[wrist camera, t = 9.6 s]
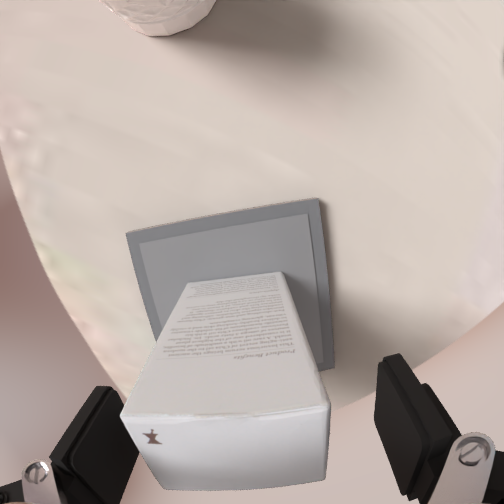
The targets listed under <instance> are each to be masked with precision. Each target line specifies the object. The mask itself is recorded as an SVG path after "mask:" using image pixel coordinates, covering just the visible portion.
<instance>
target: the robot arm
mask: <svg viewBox="0 0 504 504" xmlns="http://www.w3.org/2000/svg"><path fill="white" fill-rule="evenodd" d="M123 407H124V404H123V403H122V400H121V398H120V396H119V395H118V393H117V391H115V390H114V389H113V388H112V387H110V386H96V387H95V389H94V390H93V392H92V393H91V394H90V396H89V397H88V399H87V400H86V402H85V403H84V405H83V406H82V408H81V409H80V410H79V412H78V414H77V415H76V416H75V418H74V419H73V421H72V422H71V424H70V426H69V427H68V429H67V430H66V432H65V433H64V435H63V436H62V438H61V439H60V441H59V442H58V444H57V445H56V447H55V448H54V450H53V451H52V453H51V455H50V456H49V458H50V459H51V460H52V463H51V464H50V463H49V462H48V461H46V460H43V459H37V460H33V461H31V462H29V463H28V464H27V465H26V466H25V467H24V469H23V471H22V476H21V478H22V480H19V481H16V482H13V483H10V484H8V485H4V486H1V487H0V504H120V501H121V499H122V495H123V493H124V490H125V488H126V485H127V482H128V480H129V478H130V475H131V473H132V470H133V467H134V465H135V462H136V460H137V457H138V455H139V450H138V448H137V446H136V445H135V443H134V441H133V439H132V438H131V436H130V434H129V432H128V431H127V429H126V427H125V425H124V423H123V421H122V420H121V418H120V414H121V412H122V410H123ZM374 421H375V425H376V428H377V430H378V433H379V436H380V438H381V441H382V443H383V446H384V449H385V451H386V454H387V457H388V459H389V462H390V465H391V468H392V470H393V473H394V476H395V479H396V481H397V484H398V487H399V490H400V493H401V494H402V495H403V496H404V495H407V497H408V500H409V501H411V500H414V499H416V498H418V500H419V503H420V504H504V452H501V451H496V450H495V445H494V443H493V441H492V440H491V438H490V437H488V436H487V435H485V434H482V433H477V432H475V433H474V432H471V433H467V434H464V435H461V433H460V431H459V430H458V428H457V427H456V425H455V424H454V422H453V420H452V419H451V417H450V416H449V414H448V413H447V411H446V410H445V408H444V407H443V405H442V404H441V402H440V401H439V399H438V398H437V396H436V395H435V393H434V392H433V390H432V389H431V387H430V386H429V385H428V384H426V383H424V384H420V382H419V380H418V379H417V377H416V376H415V374H414V373H413V371H412V370H411V368H410V367H409V365H408V364H407V363H406V361H405V360H404V358H403V357H402V355H401V354H399V353H398V354H394V355H390V356H386V357H384V358H383V362H379V364H378V374H377V388H376V401H375V411H374Z"/></svg>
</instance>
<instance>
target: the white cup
mask: <svg viewBox="0 0 504 504" xmlns="http://www.w3.org/2000/svg"><path fill="white" fill-rule="evenodd" d="M99 1H100V2H101V3H103V4H104V5H105V6H106V7H107V8H108V9H109V10H111V11H112V12H113V13H114V14H116V15H117V16H119V17H120V18H122V19H123V21H124V22H125V23H126V24H127V25H128V26H129V27H130V28H131V29H133V30H135V31H137V32H140V33H142V34H145V35H147V36H167V35H172V34H175V33H177V32H180V31H183V30H186V29H189V28H191V27H193V26H194V25H195V24H196V23H198V22H199V21H200V20H202V19H203V18H204V17H206V16H207V15H208V14H209V12H210V10H211V9H212V7H213V5H214V3H215V2H216V0H99Z"/></svg>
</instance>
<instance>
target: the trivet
mask: <svg viewBox="0 0 504 504" xmlns="http://www.w3.org/2000/svg"><path fill="white" fill-rule="evenodd" d="M126 237H127V241H128V246H129V250H130V254H131V258H132V262H133V266H134V270H135V273H136V277H137V281H138V284H139V288H140V291H141V295H142V298H143V302H144V305H145V309H146V312H147V315H148V318H149V321H150V325H151V328H152V331H153V334H154V337H155V340H156V342H157V340H158V338H159V336H160V334H161V332H162V330H163V328H164V326H165V324H166V323H167V321H168V319H169V317H170V315H171V313H172V311H173V309H174V308H175V306H176V304H177V302H178V300H179V298H180V296H181V294H182V292H183V291H184V289H185V287H186V285H187V284H188V283H190V282H200V281H209V280H217V279H225V278H233V277H241V276H249V275H257V274H265V273H273V272H282V273H283V274H284V277H285V279H286V282H287V285H288V288H289V290H290V293H291V296H292V298H293V301H294V304H295V307H296V310H297V312H298V315H299V318H300V321H301V323H302V326H303V329H304V332H305V335H306V337H307V340H308V343H309V346H310V348H311V351H312V354H313V357H314V360H315V362H316V365H317V368H318V371H323V370H328V369H332V368H335V366H334V347H333V331H332V317H331V305H330V294H329V283H328V273H327V263H326V254H325V246H324V237H323V229H322V222H321V214H320V207H319V200H318V198H309V199H302V200H296V201H290V202H283V203H277V204H271V205H265V206H259V207H253V208H247V209H241V210H236V211H230V212H225V213H219V214H214V215H208V216H203V217H198V218H192V219H187V220H182V221H177V222H172V223H167V224H162V225H157V226H152V227H148V228H143V229H138V230H133V231H130V232H127V233H126Z"/></svg>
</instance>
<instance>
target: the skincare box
mask: <svg viewBox="0 0 504 504" xmlns="http://www.w3.org/2000/svg"><path fill="white" fill-rule="evenodd" d="M330 416H331V402H330V399H329V397H328V394H327V391H326V389H325V386H324V384H323V381H322V378H321V376H320V373H319V371H318V368H317V365H316V362H315V360H314V357H313V354H312V351H311V348H310V346H309V343H308V340H307V337H306V335H305V332H304V329H303V326H302V323H301V321H300V318H299V315H298V312H297V310H296V307H295V304H294V301H293V298H292V296H291V293H290V290H289V288H288V285H287V282H286V279H285V277H284V274H283V273H282V272H273V273H265V274H257V275H249V276H241V277H233V278H225V279H217V280H209V281H200V282H190V283H188V284H187V285H186V287H185V289H184V291H183V292H182V294H181V296H180V298H179V300H178V302H177V304H176V306H175V308H174V309H173V311H172V313H171V315H170V317H169V319H168V321H167V323H166V324H165V326H164V328H163V330H162V332H161V334H160V336H159V338H158V340H157V342H156V344H155V346H154V348H153V350H152V352H151V353H150V355H149V357H148V359H147V361H146V363H145V365H144V367H143V369H142V371H141V373H140V375H139V377H138V379H137V381H136V383H135V386H134V387H133V389H132V391H131V393H130V395H129V397H128V399H127V401H126V403H125V405H124V407H123V410H122V412H121V414H120V418H121V420H122V421H123V423H124V425H125V427H126V429H127V431H128V432H129V434H130V436H131V438H132V439H133V441H134V443H135V445H136V446H137V448H138V450H139V452H140V453H141V455H142V457H143V459H144V460H145V462H146V463H147V465H148V467H149V468H150V470H151V472H152V473H153V475H154V476H155V478H156V479H157V481H158V482H159V484H160V485H161V486H162V487H163V488H164V489H166V490H192V491H194V490H195V491H198V490H199V491H202V490H204V491H216V490H217V491H219V490H248V489H249V490H250V489H262V488H274V487H283V486H290V485H297V484H304V483H310V482H316V481H322V480H324V479H325V478H326V469H327V459H328V446H329V435H330Z"/></svg>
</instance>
